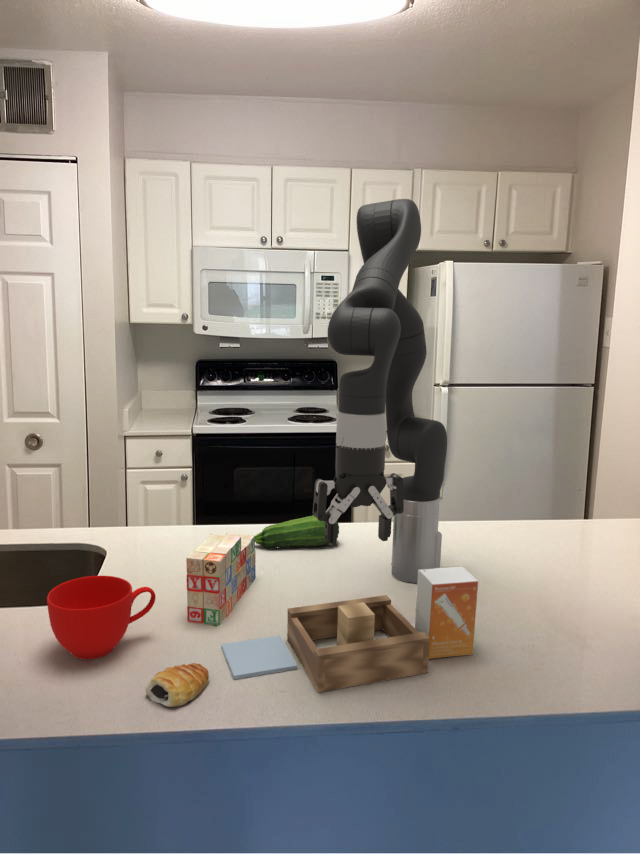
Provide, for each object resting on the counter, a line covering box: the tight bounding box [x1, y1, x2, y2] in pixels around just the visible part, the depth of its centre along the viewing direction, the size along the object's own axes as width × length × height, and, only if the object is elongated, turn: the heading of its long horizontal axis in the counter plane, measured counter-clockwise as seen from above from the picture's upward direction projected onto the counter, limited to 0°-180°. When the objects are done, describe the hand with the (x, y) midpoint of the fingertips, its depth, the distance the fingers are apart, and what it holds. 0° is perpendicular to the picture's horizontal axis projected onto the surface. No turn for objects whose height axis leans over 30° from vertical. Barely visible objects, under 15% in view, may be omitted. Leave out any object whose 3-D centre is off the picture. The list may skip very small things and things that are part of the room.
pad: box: [220, 635, 298, 680], centre depth 110 cm, size 10×10×1 cm
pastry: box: [145, 662, 210, 708], centre depth 100 cm, size 9×7×4 cm
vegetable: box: [254, 514, 340, 549], centre depth 159 cm, size 7×7×20 cm
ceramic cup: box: [46, 575, 156, 660], centre depth 112 cm, size 13×17×10 cm
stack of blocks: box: [185, 533, 257, 626], centre depth 130 cm, size 21×6×12 cm, turn 168°
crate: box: [286, 594, 430, 693], centre depth 110 cm, size 18×16×6 cm
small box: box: [414, 566, 479, 660], centre depth 113 cm, size 8×6×13 cm
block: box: [336, 602, 375, 646], centre depth 110 cm, size 4×4×8 cm
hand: (357, 542), depth 107 cm, fingers open, 8 cm apart
